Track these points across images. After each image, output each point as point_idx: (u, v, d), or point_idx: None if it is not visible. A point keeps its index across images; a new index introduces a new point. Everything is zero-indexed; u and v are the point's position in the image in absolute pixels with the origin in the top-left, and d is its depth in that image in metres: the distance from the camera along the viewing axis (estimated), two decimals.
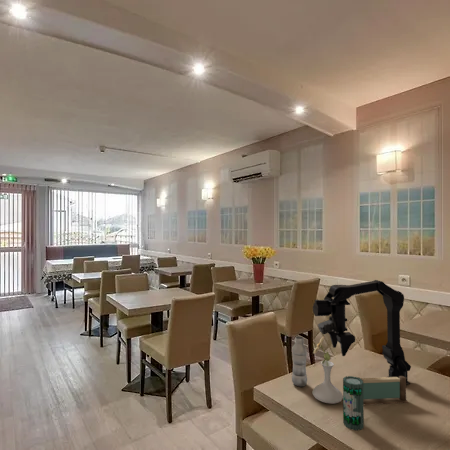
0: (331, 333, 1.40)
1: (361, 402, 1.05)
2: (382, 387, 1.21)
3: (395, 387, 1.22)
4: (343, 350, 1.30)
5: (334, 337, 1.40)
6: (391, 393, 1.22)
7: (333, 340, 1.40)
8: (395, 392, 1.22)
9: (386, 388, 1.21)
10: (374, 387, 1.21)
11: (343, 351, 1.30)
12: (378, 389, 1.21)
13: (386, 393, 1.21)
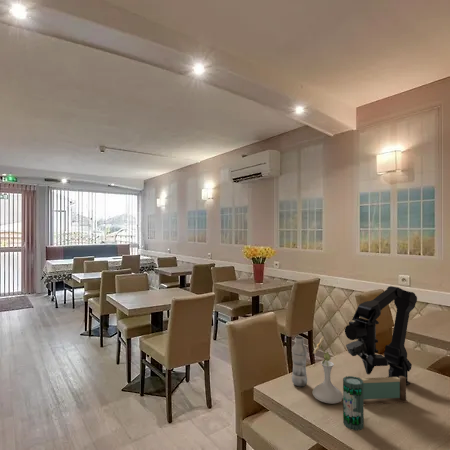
0: None
1: (361, 402, 1.05)
2: (382, 387, 1.21)
3: (395, 387, 1.22)
4: (368, 368, 1.28)
5: None
6: (391, 393, 1.22)
7: None
8: (395, 392, 1.22)
9: (386, 388, 1.21)
10: (374, 387, 1.21)
11: (368, 369, 1.28)
12: (378, 389, 1.21)
13: (386, 393, 1.21)
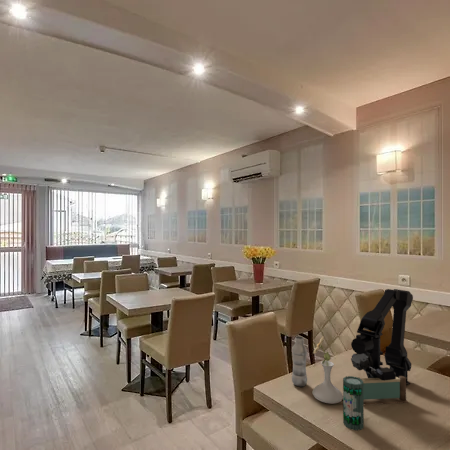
0: None
1: (361, 402, 1.05)
2: (382, 387, 1.21)
3: (395, 387, 1.22)
4: None
5: None
6: (391, 393, 1.21)
7: None
8: (395, 392, 1.22)
9: (386, 388, 1.21)
10: (374, 387, 1.21)
11: None
12: (378, 389, 1.21)
13: (386, 393, 1.21)
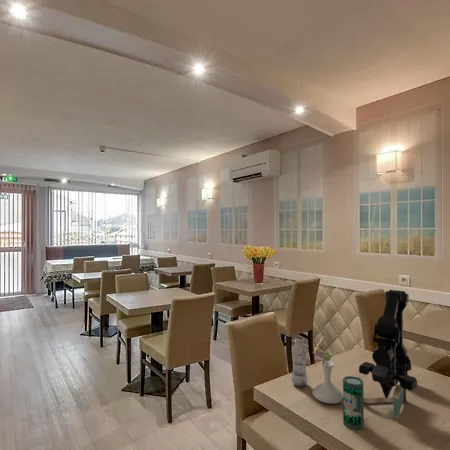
0: None
1: (361, 402, 1.05)
2: (400, 395, 1.15)
3: (403, 390, 1.20)
4: (389, 392, 1.17)
5: None
6: (402, 398, 1.18)
7: None
8: (403, 395, 1.20)
9: (401, 395, 1.17)
10: (399, 399, 1.13)
11: (388, 393, 1.17)
12: (400, 399, 1.14)
13: (401, 400, 1.17)
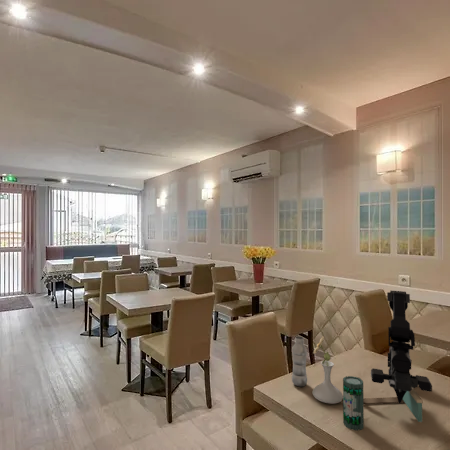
0: None
1: (361, 402, 1.05)
2: None
3: None
4: None
5: (398, 390, 1.15)
6: None
7: None
8: None
9: None
10: None
11: None
12: None
13: None
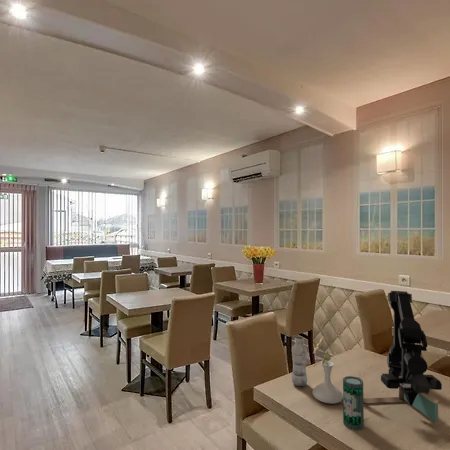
0: None
1: (361, 402, 1.05)
2: None
3: None
4: None
5: None
6: None
7: None
8: None
9: None
10: None
11: None
12: None
13: None
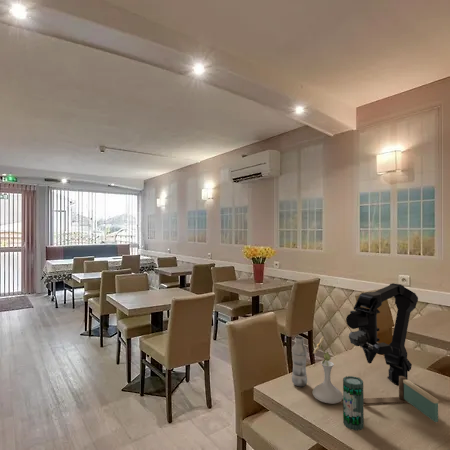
0: None
1: (361, 402, 1.05)
2: None
3: None
4: (370, 357, 1.28)
5: None
6: None
7: None
8: None
9: None
10: None
11: (370, 358, 1.28)
12: None
13: None
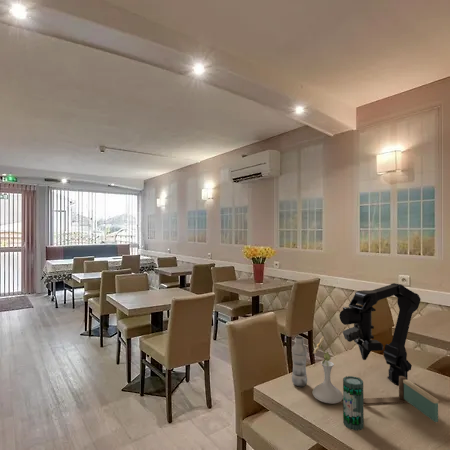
0: (360, 344, 1.32)
1: (361, 402, 1.05)
2: None
3: None
4: (364, 354, 1.31)
5: None
6: None
7: None
8: None
9: None
10: None
11: (364, 355, 1.31)
12: None
13: None
